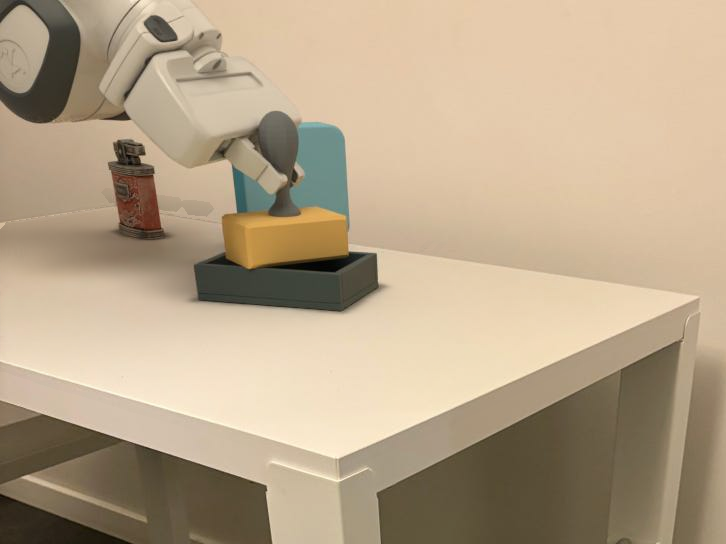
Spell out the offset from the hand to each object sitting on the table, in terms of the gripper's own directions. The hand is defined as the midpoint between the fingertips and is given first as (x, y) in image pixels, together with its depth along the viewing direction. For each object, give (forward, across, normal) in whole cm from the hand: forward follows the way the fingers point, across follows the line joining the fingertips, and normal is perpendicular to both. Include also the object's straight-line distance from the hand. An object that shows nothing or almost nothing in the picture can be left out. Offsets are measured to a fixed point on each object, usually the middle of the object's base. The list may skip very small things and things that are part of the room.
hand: (289, 185), depth 87 cm
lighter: (-14, -23, -28) cm, 39 cm away
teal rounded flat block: (-1, -24, -14) cm, 28 cm away
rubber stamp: (+4, 0, -5) cm, 6 cm away
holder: (+6, 0, -7) cm, 9 cm away
